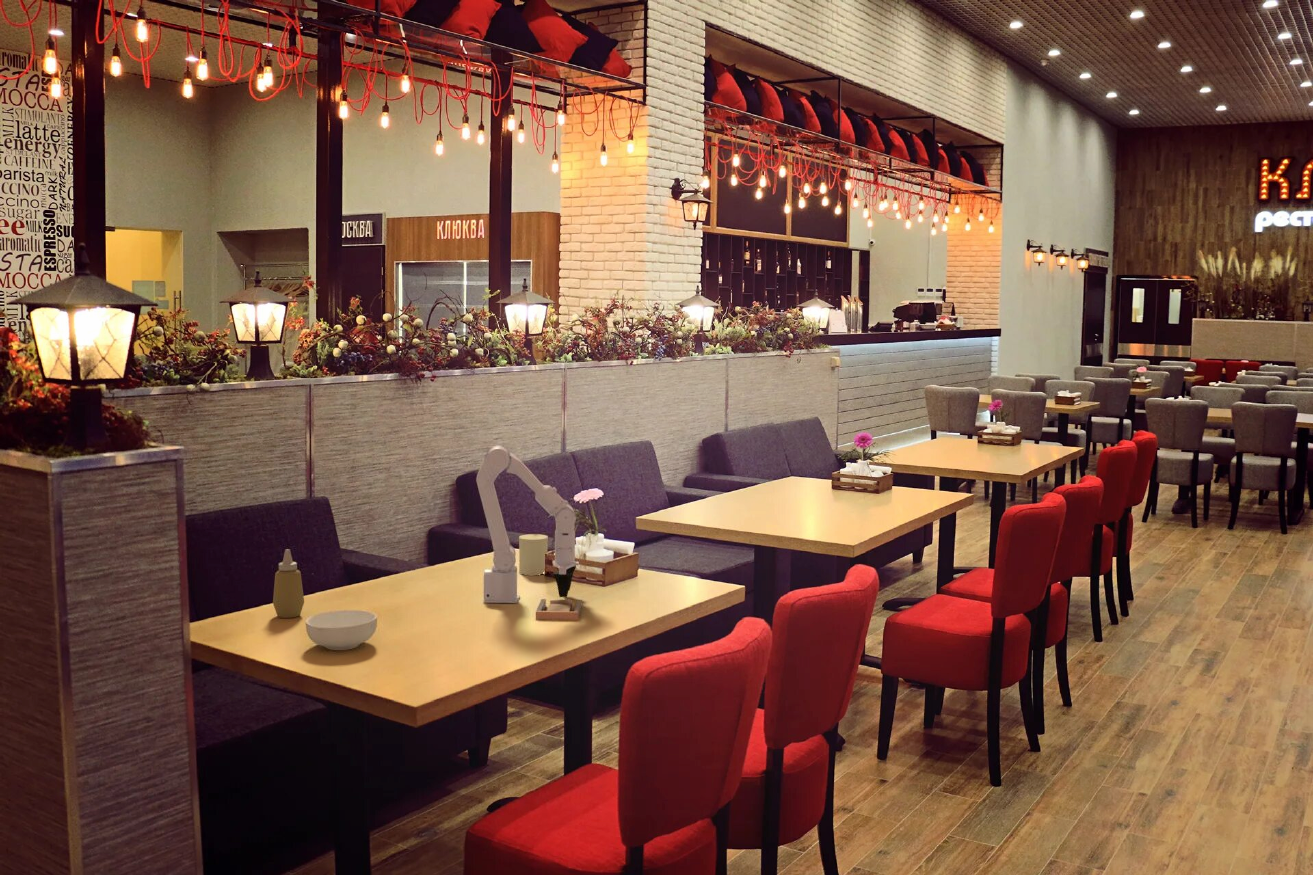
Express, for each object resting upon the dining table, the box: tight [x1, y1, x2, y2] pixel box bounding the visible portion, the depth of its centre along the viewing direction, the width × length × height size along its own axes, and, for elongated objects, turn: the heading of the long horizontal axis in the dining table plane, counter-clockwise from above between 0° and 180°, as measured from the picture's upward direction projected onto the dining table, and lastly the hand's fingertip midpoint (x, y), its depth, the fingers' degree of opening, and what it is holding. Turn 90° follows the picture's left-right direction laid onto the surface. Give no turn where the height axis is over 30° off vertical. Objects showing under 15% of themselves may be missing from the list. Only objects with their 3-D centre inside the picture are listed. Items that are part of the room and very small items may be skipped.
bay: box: [535, 598, 583, 621], centre depth 319 cm, size 11×14×2 cm
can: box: [518, 533, 549, 576], centre depth 368 cm, size 9×9×12 cm
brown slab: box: [546, 598, 573, 611], centre depth 319 cm, size 6×10×2 cm, turn 179°
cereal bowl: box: [305, 609, 378, 651], centre depth 285 cm, size 17×17×7 cm
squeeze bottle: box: [272, 548, 305, 619], centre depth 311 cm, size 8×8×18 cm
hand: (564, 593), depth 334 cm, fingers open, 7 cm apart
